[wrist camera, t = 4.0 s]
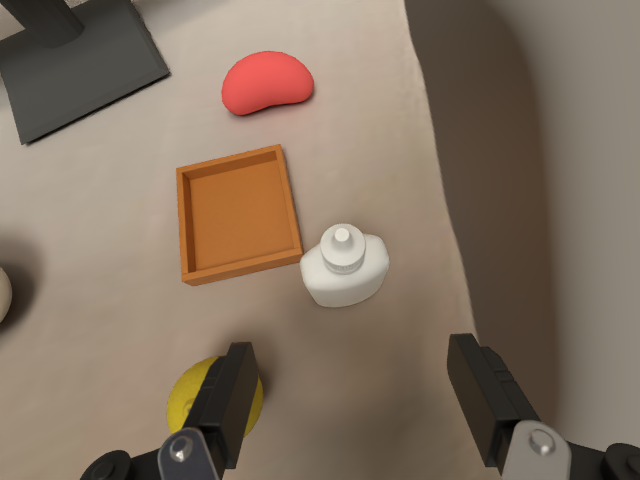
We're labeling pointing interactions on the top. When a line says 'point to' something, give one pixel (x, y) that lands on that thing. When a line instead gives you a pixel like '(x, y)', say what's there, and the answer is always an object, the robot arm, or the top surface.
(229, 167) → the amber tray
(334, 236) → the eye dropper bottle
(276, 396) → the top surface
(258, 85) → the red kidney bean shape
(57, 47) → the computer monitor
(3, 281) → the silver rounded lump
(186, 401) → the lemon
